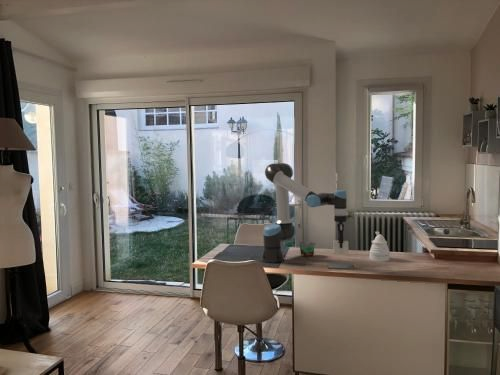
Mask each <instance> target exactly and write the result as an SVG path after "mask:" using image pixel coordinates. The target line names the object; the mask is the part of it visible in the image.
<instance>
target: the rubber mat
mask: <svg viewBox="0 0 500 375" xmlns="http://www.w3.org/2000/svg"><path fill="white" fill-rule="evenodd" d="M327 268H328V269H332V270H333V269H334V270H354V266H353V263H352V262H327Z"/></svg>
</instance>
